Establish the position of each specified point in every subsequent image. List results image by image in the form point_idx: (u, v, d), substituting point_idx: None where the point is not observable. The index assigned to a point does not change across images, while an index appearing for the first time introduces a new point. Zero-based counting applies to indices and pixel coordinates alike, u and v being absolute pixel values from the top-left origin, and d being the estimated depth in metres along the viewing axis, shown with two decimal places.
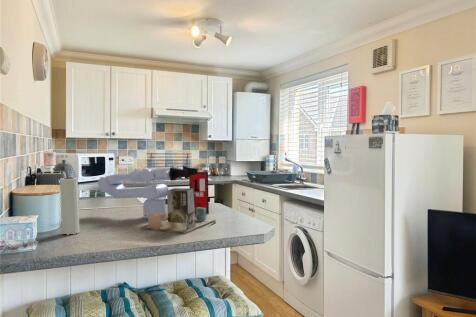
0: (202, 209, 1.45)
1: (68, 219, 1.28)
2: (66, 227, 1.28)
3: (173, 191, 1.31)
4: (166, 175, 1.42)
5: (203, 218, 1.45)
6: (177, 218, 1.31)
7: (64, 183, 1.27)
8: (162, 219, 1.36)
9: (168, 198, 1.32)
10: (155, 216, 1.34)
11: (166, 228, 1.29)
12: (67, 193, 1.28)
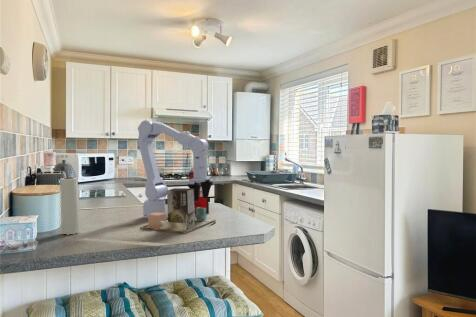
0: (202, 209, 1.45)
1: (68, 219, 1.28)
2: (66, 227, 1.28)
3: (173, 191, 1.31)
4: (190, 182, 1.39)
5: (203, 218, 1.45)
6: (177, 218, 1.31)
7: (64, 183, 1.27)
8: (162, 219, 1.36)
9: (168, 198, 1.32)
10: (155, 216, 1.34)
11: (166, 228, 1.29)
12: (67, 193, 1.28)
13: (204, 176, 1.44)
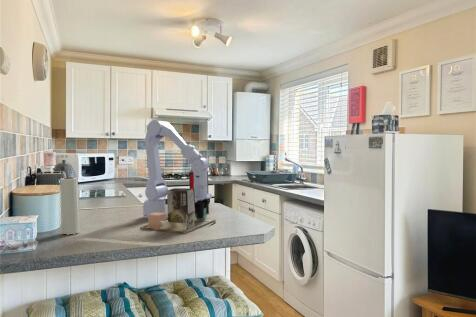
0: None
1: (68, 219, 1.28)
2: (66, 227, 1.28)
3: (173, 191, 1.31)
4: None
5: (203, 218, 1.45)
6: (177, 218, 1.31)
7: (64, 183, 1.27)
8: (162, 219, 1.36)
9: (168, 198, 1.32)
10: (155, 216, 1.34)
11: (166, 228, 1.29)
12: (67, 193, 1.28)
13: (204, 195, 1.44)
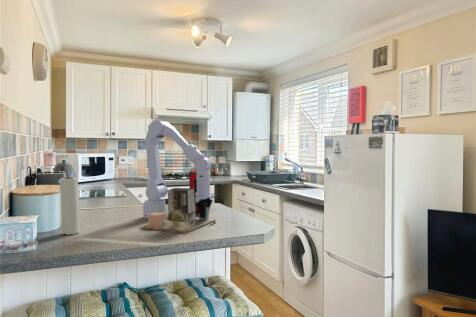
0: None
1: (68, 219, 1.28)
2: (66, 227, 1.28)
3: (173, 191, 1.31)
4: None
5: (206, 217, 1.47)
6: (177, 218, 1.31)
7: (64, 183, 1.27)
8: (162, 219, 1.36)
9: (168, 198, 1.32)
10: (155, 216, 1.34)
11: (169, 227, 1.31)
12: (67, 193, 1.28)
13: (207, 194, 1.46)
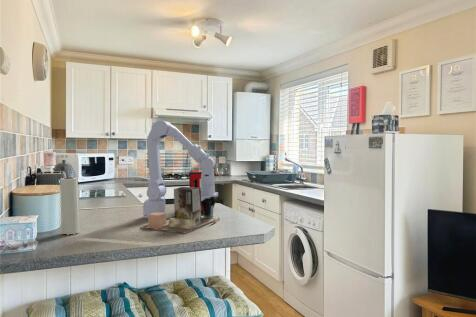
0: None
1: (68, 219, 1.28)
2: (66, 227, 1.28)
3: (179, 190, 1.34)
4: None
5: (210, 215, 1.50)
6: (182, 216, 1.34)
7: (64, 183, 1.27)
8: (162, 219, 1.36)
9: (175, 196, 1.35)
10: (155, 216, 1.34)
11: (175, 225, 1.35)
12: (67, 193, 1.28)
13: (212, 193, 1.49)
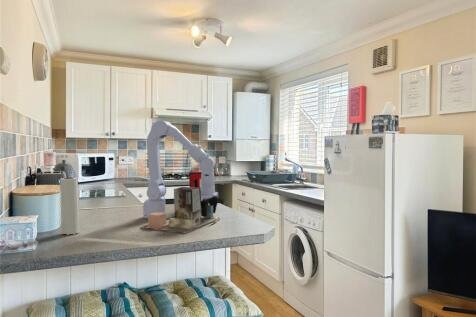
0: (209, 207, 1.50)
1: (68, 219, 1.28)
2: (66, 227, 1.28)
3: (179, 190, 1.34)
4: None
5: (210, 215, 1.50)
6: (182, 216, 1.34)
7: (64, 183, 1.27)
8: (162, 219, 1.36)
9: (175, 196, 1.35)
10: (155, 216, 1.34)
11: (176, 225, 1.35)
12: (67, 193, 1.28)
13: (212, 193, 1.49)
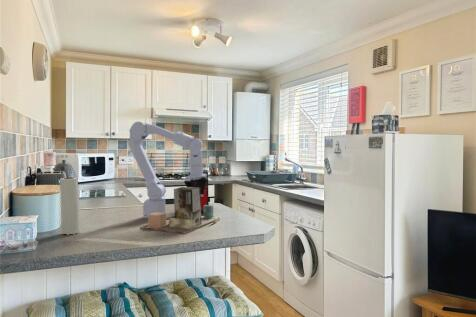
0: (209, 207, 1.50)
1: (68, 219, 1.28)
2: (66, 227, 1.28)
3: (179, 190, 1.34)
4: (186, 179, 1.47)
5: (210, 215, 1.50)
6: (182, 216, 1.34)
7: (64, 183, 1.27)
8: (162, 219, 1.36)
9: (175, 196, 1.35)
10: (155, 216, 1.34)
11: (176, 225, 1.35)
12: (67, 193, 1.28)
13: (200, 173, 1.51)
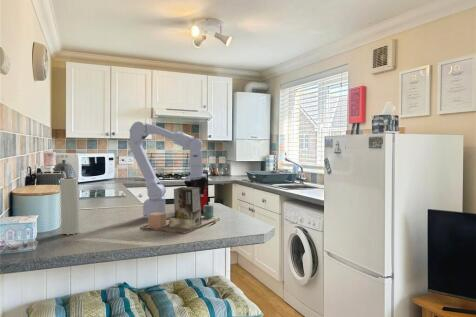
0: (209, 207, 1.50)
1: (68, 219, 1.28)
2: (66, 227, 1.28)
3: (179, 190, 1.34)
4: (186, 179, 1.47)
5: (210, 215, 1.50)
6: (182, 216, 1.34)
7: (64, 183, 1.27)
8: (162, 219, 1.36)
9: (175, 196, 1.35)
10: (155, 216, 1.34)
11: (176, 225, 1.35)
12: (67, 193, 1.28)
13: (200, 173, 1.51)
